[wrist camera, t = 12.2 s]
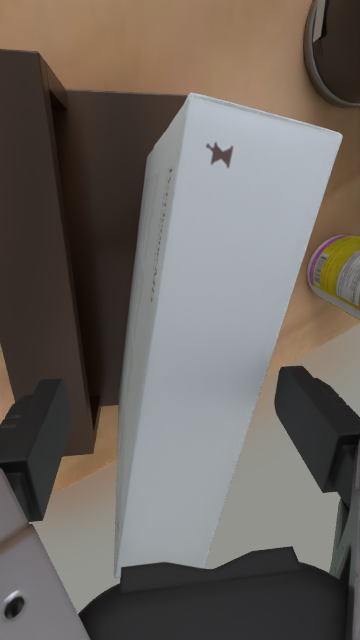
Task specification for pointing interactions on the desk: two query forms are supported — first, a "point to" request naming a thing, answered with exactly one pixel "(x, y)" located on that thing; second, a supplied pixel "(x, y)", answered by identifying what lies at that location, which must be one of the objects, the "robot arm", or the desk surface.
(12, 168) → the metal step block
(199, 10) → the desk surface
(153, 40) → the desk surface
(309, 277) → the supplement bottle
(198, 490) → the skincare box
